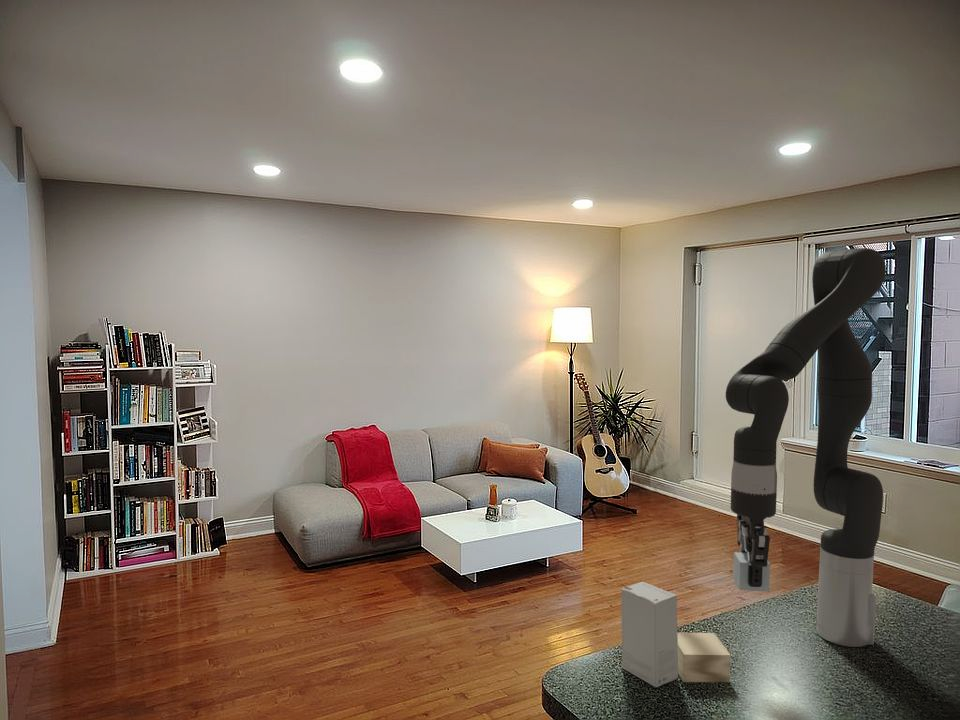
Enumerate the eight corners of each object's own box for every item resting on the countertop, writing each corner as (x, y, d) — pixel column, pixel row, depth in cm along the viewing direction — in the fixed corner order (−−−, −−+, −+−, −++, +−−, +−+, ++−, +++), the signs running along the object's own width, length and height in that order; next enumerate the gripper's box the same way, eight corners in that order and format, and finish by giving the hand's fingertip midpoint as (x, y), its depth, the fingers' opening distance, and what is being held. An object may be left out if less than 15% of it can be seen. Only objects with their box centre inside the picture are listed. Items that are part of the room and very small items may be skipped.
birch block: (713, 659, 124) (714, 632, 123) (729, 683, 116) (730, 655, 115) (669, 658, 124) (670, 632, 123) (682, 682, 116) (684, 654, 115)
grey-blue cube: (761, 580, 123) (762, 553, 123) (769, 591, 118) (770, 563, 118) (733, 578, 124) (733, 552, 124) (739, 589, 119) (740, 562, 119)
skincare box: (678, 679, 116) (681, 595, 115) (654, 690, 113) (657, 603, 112) (641, 658, 123) (644, 579, 122) (618, 667, 120) (620, 586, 119)
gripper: (787, 498, 112) (784, 598, 113) (765, 477, 126) (762, 566, 127) (740, 496, 113) (737, 595, 115) (723, 475, 127) (721, 563, 129)
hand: (750, 579), depth 121 cm, fingers closed on grey-blue cube, 5 cm apart
